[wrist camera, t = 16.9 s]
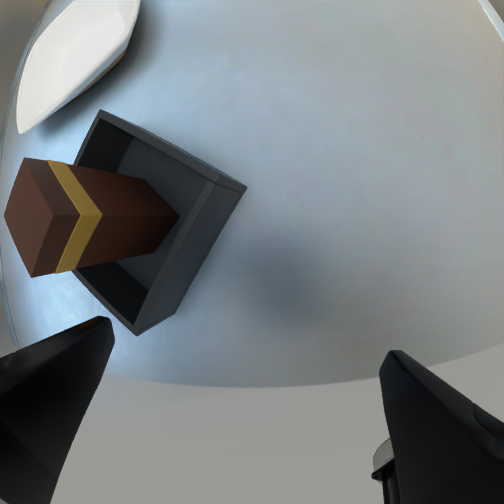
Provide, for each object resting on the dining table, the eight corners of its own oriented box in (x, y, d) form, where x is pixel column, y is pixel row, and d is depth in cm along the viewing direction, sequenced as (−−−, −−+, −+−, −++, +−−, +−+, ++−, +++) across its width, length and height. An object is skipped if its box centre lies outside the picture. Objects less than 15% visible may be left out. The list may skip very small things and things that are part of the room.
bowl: (49, 54, 25) (29, 45, 20) (156, -26, 20) (138, -45, 14) (42, 160, 26) (11, 155, 21) (175, 63, 20) (145, 37, 15)
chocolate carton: (181, 216, 21) (54, 214, 9) (153, 254, 22) (31, 279, 10) (144, 177, 21) (24, 155, 10) (119, 214, 22) (3, 216, 11)
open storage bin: (174, 313, 22) (136, 336, 17) (88, 237, 24) (47, 242, 19) (247, 187, 20) (221, 174, 14) (139, 126, 22) (99, 108, 16)
